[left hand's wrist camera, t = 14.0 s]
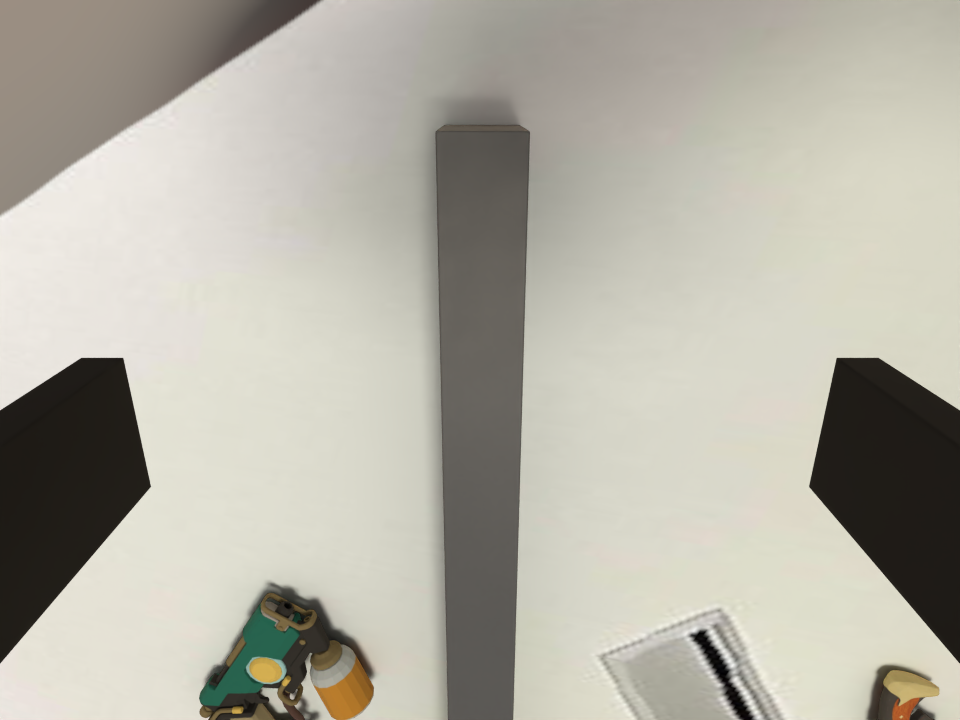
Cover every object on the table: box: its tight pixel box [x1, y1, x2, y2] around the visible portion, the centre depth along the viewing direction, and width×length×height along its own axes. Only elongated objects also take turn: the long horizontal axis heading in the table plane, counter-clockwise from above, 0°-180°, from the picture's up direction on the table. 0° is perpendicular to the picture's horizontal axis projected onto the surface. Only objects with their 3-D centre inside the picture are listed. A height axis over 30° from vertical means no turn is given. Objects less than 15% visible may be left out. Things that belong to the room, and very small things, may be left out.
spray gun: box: [199, 593, 374, 720], centre depth 58 cm, size 4×17×15 cm
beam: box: [436, 125, 530, 720], centre depth 53 cm, size 79×5×8 cm, turn 0°
